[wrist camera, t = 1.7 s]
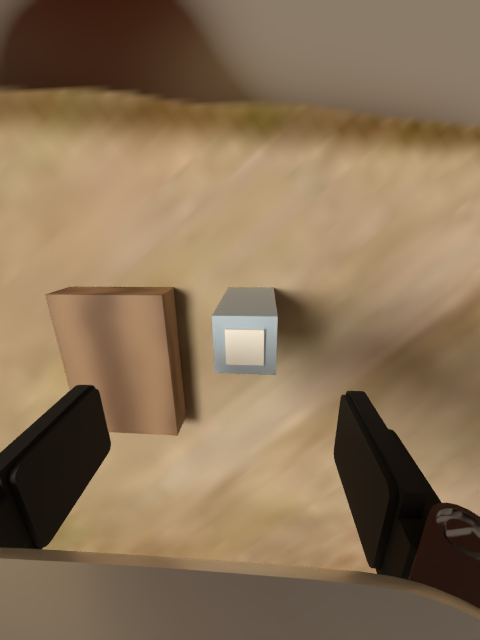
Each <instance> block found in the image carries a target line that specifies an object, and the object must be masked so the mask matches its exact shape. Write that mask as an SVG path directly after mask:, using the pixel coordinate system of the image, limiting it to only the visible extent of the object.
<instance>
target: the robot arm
mask: <svg viewBox="0 0 480 640" xmlns="http://www.w3.org/2000/svg"><path fill="white" fill-rule="evenodd" d="M110 447H111V441H110V437H109V432H108V428H107V423H106V419H105V414H104V410H103V405H102V401H101V396H100V392H99V390H98V389H96V388H95V386H93V385H76V386H75V387H74V388H72V389H71V390H70V391H69V392H68V393H67V394H66V395H65V396H63V397H62V398H61V399H60V400H59V401H58V402H57V403H56V404H55V405H53V406H52V407H51V408H50V409H49V410H48V411H47V412H46V413H44V414H43V415H42V416H41V417H40V418H39V419H38V420H37V421H35V422H34V423H33V424H32V425H31V426H30V427H29V428H28V429H26V430H25V431H24V432H23V433H22V434H21V435H20V436H19V437H17V438H16V439H15V440H14V441H13V442H12V443H11V444H10V445H8V446H7V447H6V448H5V449H4V450H3V451H2V452H1V453H0V640H480V517H479V516H478V515H476V514H475V513H473V512H472V511H470V510H468V509H466V508H463V507H461V506H459V505H456V504H451V503H441V501H440V499H439V498H438V496H437V495H436V493H435V492H434V490H433V489H432V487H431V486H430V484H429V483H428V481H427V480H426V478H425V477H424V475H423V474H422V472H421V471H420V469H419V468H418V466H417V465H416V463H415V461H414V460H413V458H412V457H411V455H410V454H409V452H408V451H407V449H406V448H405V446H404V445H403V443H402V442H401V440H400V439H399V437H398V436H397V434H396V433H395V432H394V431H393V430H390V429H388V428H387V427H386V425H385V423H384V422H383V420H382V419H381V417H380V416H379V414H378V412H377V411H376V409H375V408H374V406H373V404H372V403H371V401H370V400H369V398H368V397H367V395H366V393H365V392H363V391H347V392H346V395H342V396H341V400H340V408H339V415H338V423H337V431H336V438H335V446H334V459H335V463H336V466H337V469H338V473H339V476H340V479H341V482H342V485H343V488H344V491H345V494H346V497H347V500H348V503H349V507H350V510H351V513H352V516H353V519H354V522H355V525H356V528H357V531H358V534H359V537H360V541H361V544H362V547H363V550H364V553H365V556H366V559H367V562H368V564H369V566H370V567H371V568H375V569H376V571H377V574H373V573H366V572H359V571H348V570H337V569H325V568H314V567H303V566H290V565H276V564H262V563H248V562H234V561H219V560H205V559H189V558H174V557H159V556H143V555H127V554H111V553H94V552H77V551H60V550H42V548H43V547H45V546H47V545H48V544H49V543H50V542H51V540H52V539H53V537H54V536H55V534H56V533H57V531H58V530H59V528H60V526H61V525H62V523H63V522H64V520H65V519H66V517H67V516H68V514H69V513H70V511H71V510H72V508H73V507H74V505H75V503H76V502H77V500H78V499H79V497H80V496H81V494H82V493H83V491H84V490H85V488H86V487H87V485H88V483H89V482H90V480H91V479H92V477H93V476H94V474H95V473H96V471H97V470H98V468H99V467H100V465H101V464H102V462H103V460H104V459H105V457H106V456H107V454H108V453H109V450H110Z"/></svg>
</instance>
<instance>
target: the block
mask: <svg viewBox="0 0 480 640" xmlns="http://www.w3.org/2000/svg"><path fill="white" fill-rule="evenodd" d="M277 324H278V315H277V308H276V301H275V294H274V288H228V289H227V291H226V293H225V294H224V296H223V298H222V299H221V301H220V303H219V305H218V306H217V308H216V310H215V311H214V313H213V315H212V326H213V345H214V365H215V373H229V374H260V375H276V353H277Z"/></svg>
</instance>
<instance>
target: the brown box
mask: <svg viewBox="0 0 480 640" xmlns="http://www.w3.org/2000/svg"><path fill="white" fill-rule="evenodd" d="M45 296H46V300H47V304H48V307H49V311H50V315H51V319H52V323H53V327H54V331H55V334H56V338H57V342H58V346H59V350H60V354H61V358H62V361H63V365H64V369H65V373H66V377H67V381H68V385H69V388H70V390H71V389H72V388H74V387H75V386H76V385H93V386H95V388H96V389H98V390H99V392H100V396H101V401H102V405H103V410H104V414H105V419H106V423H107V428H108V432H119V433H138V434H157V435H177V436H178V433H179V431H180V429H181V426H182V424H183V421H184V419H185V416H186V410H185V400H184V389H183V379H182V369H181V358H180V348H179V338H178V328H177V317H176V307H175V297H174V287H68V288H65V289H61V290H58V291H55V292H52V293H49V294H46V295H45Z"/></svg>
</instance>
